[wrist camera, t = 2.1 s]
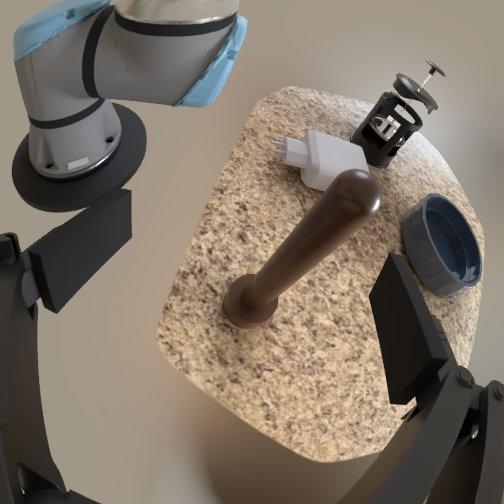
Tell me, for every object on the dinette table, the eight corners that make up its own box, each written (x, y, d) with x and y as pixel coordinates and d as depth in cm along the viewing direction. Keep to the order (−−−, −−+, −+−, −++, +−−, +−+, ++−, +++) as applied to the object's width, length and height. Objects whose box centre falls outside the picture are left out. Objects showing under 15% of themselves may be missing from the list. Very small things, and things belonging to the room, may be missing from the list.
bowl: (383, 231, 41) (407, 212, 36) (422, 199, 49) (441, 183, 44) (439, 319, 38) (467, 308, 33) (467, 269, 46) (488, 256, 40)
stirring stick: (213, 297, 30) (300, 149, 11) (251, 275, 32) (362, 133, 14) (240, 337, 29) (378, 246, 10) (277, 312, 31) (423, 206, 12)
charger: (265, 136, 43) (347, 161, 46) (264, 179, 39) (356, 203, 42) (275, 114, 39) (361, 143, 42) (276, 156, 34) (373, 186, 38)
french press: (392, 178, 49) (468, 97, 29) (352, 158, 47) (426, 63, 27) (383, 140, 54) (442, 66, 34) (347, 122, 53) (404, 38, 33)
